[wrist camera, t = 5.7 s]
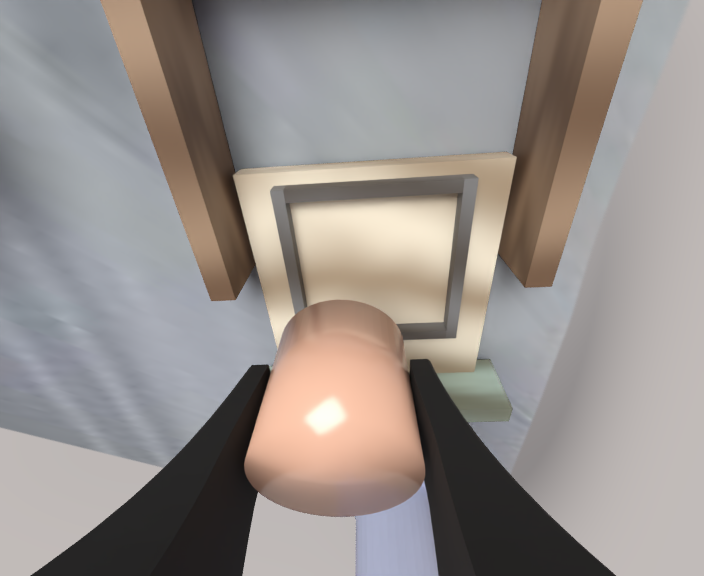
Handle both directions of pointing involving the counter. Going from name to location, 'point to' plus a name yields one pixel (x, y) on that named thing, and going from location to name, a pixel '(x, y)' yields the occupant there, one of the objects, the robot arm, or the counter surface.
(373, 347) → the peach rounded cylinder
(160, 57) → the dock
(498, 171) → the tray
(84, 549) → the robot arm
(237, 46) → the counter surface
